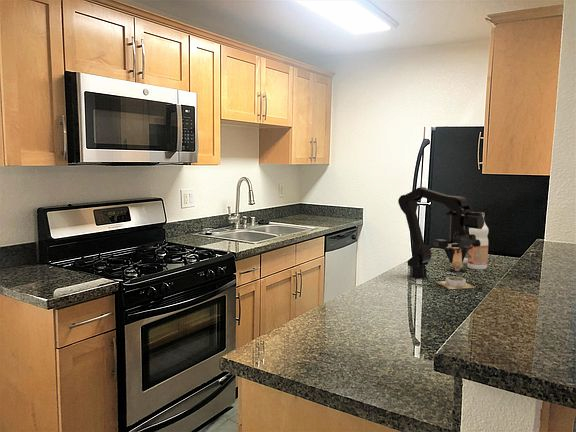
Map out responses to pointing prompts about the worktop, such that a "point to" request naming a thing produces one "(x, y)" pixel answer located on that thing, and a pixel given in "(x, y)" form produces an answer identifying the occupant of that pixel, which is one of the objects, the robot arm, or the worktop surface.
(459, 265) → the copper brown cylinder
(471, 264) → the fruit juice
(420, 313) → the worktop surface
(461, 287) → the board
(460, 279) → the collar
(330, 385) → the worktop surface
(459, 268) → the showerhead
